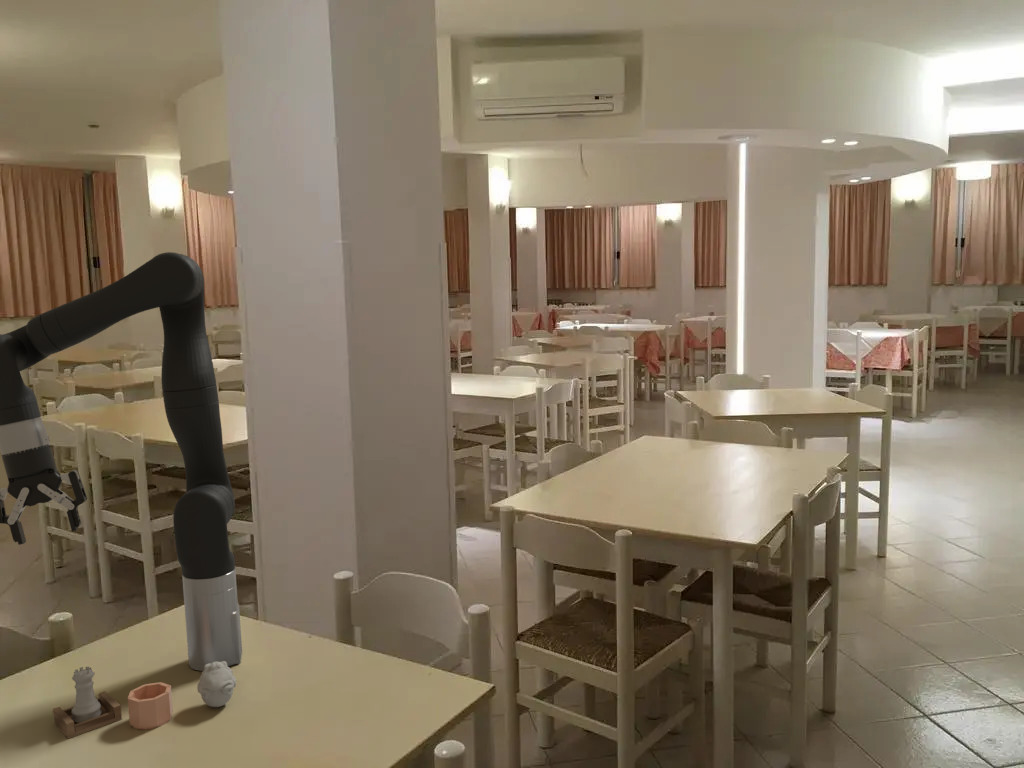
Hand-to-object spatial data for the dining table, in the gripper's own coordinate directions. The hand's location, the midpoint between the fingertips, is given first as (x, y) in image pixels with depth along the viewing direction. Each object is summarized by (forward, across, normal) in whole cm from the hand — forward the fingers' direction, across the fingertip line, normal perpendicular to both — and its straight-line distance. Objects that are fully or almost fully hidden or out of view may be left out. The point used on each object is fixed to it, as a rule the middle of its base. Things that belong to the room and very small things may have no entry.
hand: (49, 536), depth 148 cm
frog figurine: (+32, +22, -17) cm, 42 cm away
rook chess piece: (+28, +2, -15) cm, 32 cm away
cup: (+31, +12, -18) cm, 38 cm away
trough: (+29, +2, -15) cm, 33 cm away
